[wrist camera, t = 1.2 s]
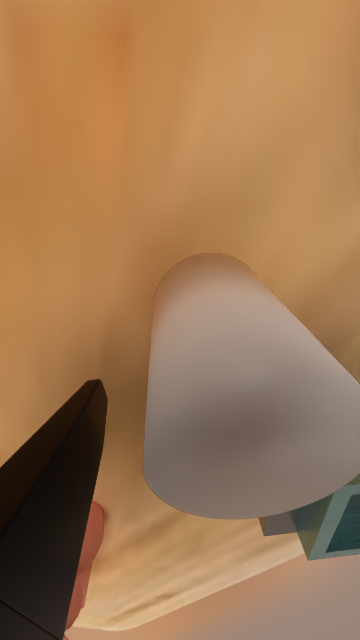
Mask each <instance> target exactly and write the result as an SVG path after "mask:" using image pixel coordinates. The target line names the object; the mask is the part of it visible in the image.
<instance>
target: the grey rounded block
mask: <svg viewBox="0 0 360 640" xmlns="http://www.w3.org/2000/svg"><path fill="white" fill-rule="evenodd" d="M143 472H144V477H145V479H146V481H147V484H148V486H149V487H150V488H151V490H152V491H153V492H154V493H155V494H156V495H157V496H158V497H159V498H160V499H161V500H163V501H164V502H165V503H167V504H168V505H170V506H172V507H174V508H176V509H178V510H181V511H183V512H186V513H189V514H193V515H197V516H202V517H207V518H216V519H249V518H259V517H265V516H271V515H275V514H280V513H284V512H287V511H291V510H294V509H297V508H300V507H303V506H306V505H308V504H311V503H313V502H316V501H318V500H320V499H322V498H324V497H326V496H328V495H330V494H332V493H333V492H335V491H337V490H338V489H340V488H341V487H343V486H344V485H346V484H347V483H349V482H350V481H351V480H352V479H354V478H355V477H356V476H357V475H358V474H359V473H360V384H359V383H358V382H357V381H356V380H355V379H354V377H353V376H352V375H351V374H350V373H349V372H348V371H347V370H346V369H345V368H344V367H343V366H342V365H341V364H340V363H339V362H338V361H337V360H336V359H335V358H334V356H333V355H332V354H331V353H330V352H329V351H328V350H327V349H326V348H325V347H324V346H323V345H322V344H321V343H320V342H319V341H318V340H317V339H316V338H315V337H314V335H313V334H312V333H311V332H310V331H309V330H308V329H307V328H306V327H305V326H304V325H303V324H302V323H301V322H300V321H299V320H298V319H297V318H296V317H295V316H294V314H293V313H292V312H291V311H290V310H289V309H288V308H287V307H286V306H285V305H284V304H283V303H282V302H281V301H280V300H279V299H278V298H277V297H276V296H275V295H274V293H273V292H272V291H271V290H270V289H269V288H268V287H267V286H266V285H265V284H264V283H263V282H262V281H261V280H260V279H259V278H258V277H257V276H256V275H255V274H254V272H253V271H252V270H251V269H250V268H249V267H248V266H247V265H245V264H244V263H243V262H241V261H240V260H238V259H236V258H234V257H231V256H228V255H224V254H218V253H205V254H199V255H195V256H192V257H189V258H187V259H185V260H183V261H181V262H180V263H178V264H176V265H175V266H174V267H173V268H171V269H170V270H169V271H168V272H167V273H166V274H165V276H164V277H163V278H162V280H161V281H160V283H159V285H158V287H157V290H156V292H155V296H154V302H153V317H152V332H151V347H150V362H149V376H148V391H147V406H146V421H145V436H144V451H143Z"/></svg>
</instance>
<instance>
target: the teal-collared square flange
mask: <svg viewBox="0 0 360 640" xmlns="http://www.w3.org/2000/svg"><path fill="white" fill-rule="evenodd" d="M259 520H260V524H261V527H262V531H263V534H264V536H271V535H279V534H287V533H295V532H297V533H298V536H299V538H300V541H301V543H302V546H303V549H304V551H305V554H306V557H307V559H308V560H316V559H324V558H332V557H340V556H348V555H356V554H360V473H359V474H358V475H357V476H356V477H355V478H354V479H352V480H351V481H350V482H349V483H347V484H346V485H344V486H343V487H341V488H340V489H338V490H337V491H335V492H333V493H332V494H330V495H328V496H326V497H324V498H322V499H320V500H318V501H316V502H313V503H311V504H308V505H306V506H303V507H300V508H297V509H294V510H291V511H287V512H284V513H280V514H275V515H271V516H265V517H259Z"/></svg>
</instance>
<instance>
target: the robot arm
mask: <svg viewBox="0 0 360 640" xmlns="http://www.w3.org/2000/svg"><path fill="white" fill-rule="evenodd" d="M107 404H108V400H107V395H106V392H105V389H104V386H103V383H102V381H101V380H100V379H95V380H89V381H87V382H86V383H85V384H84V385H83V386H82V387H81V388H80V389H79V390H78V391H77V392H76V393H75V394H74V395H73V396H72V397H71V398H70V399H69V400H68V401H67V402H66V403H65V404H64V405H63V406H62V407H61V408H60V409H59V410H58V411H57V412H56V413H55V414H54V415H53V416H52V417H51V418H50V419H49V420H48V421H47V422H46V423H45V424H44V425H43V426H42V427H41V428H40V429H38V430H37V431H36V432H35V433H34V434H33V435H32V436H31V437H30V438H29V439H28V440H27V441H26V442H25V443H24V444H23V445H22V446H21V447H20V448H19V449H18V450H17V451H16V452H15V453H14V454H13V455H12V456H11V457H10V458H9V459H8V460H7V461H6V462H5V463H4V464H3V465H2V466H1V467H0V640H63V637H64V632H65V627H66V623H67V618H68V613H69V608H70V603H71V599H72V594H73V589H74V584H75V580H76V575H77V570H78V565H79V561H80V556H81V551H82V546H83V542H84V537H85V532H86V527H87V523H88V518H89V513H90V508H91V503H92V499H93V494H94V489H95V484H96V480H97V475H98V470H99V465H100V461H101V456H102V451H103V444H104V435H105V425H106V414H107Z"/></svg>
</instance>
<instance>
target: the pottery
mask: <svg viewBox="0 0 360 640" xmlns="http://www.w3.org/2000/svg"><path fill="white" fill-rule="evenodd" d="M103 531H104V522H103V510H102V508H101V507H100V505H98V504H97V503H96V502H94V501H92V503H91V508H90V513H89V518H88V523H87V527H86V532H85V537H84V542H83V546H82V551H81V556H80V561H79V565H78V570H77V575H76V580H75V584H74V589H73V594H72V599H71V603H70V608H69V613H68V618H67V623H66V627H65V630H67V629H69V628H70V627H71V626H72V624H73V623H74V621H75V620H76V618H77V617H78V615H79V612H80V610H81V609H82V608H83V607H84V604H85V599H86V593H87V588H88V582H89V577H90V571H91V566H92V561H93V559H94V558H95V556H96V554H97V552H98V550H99V548H100V545H101V542H102V539H103ZM63 640H68V638H67V637H66V636H65V635H64V637H63Z"/></svg>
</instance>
